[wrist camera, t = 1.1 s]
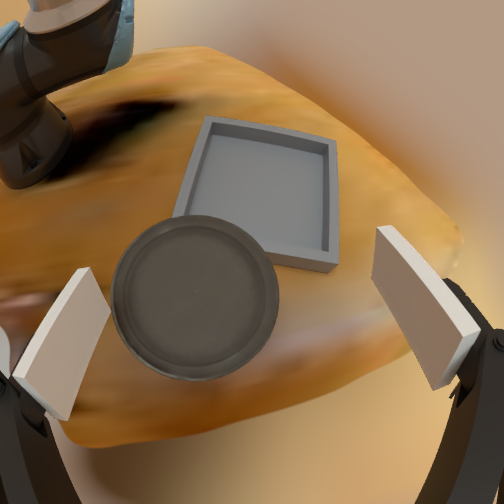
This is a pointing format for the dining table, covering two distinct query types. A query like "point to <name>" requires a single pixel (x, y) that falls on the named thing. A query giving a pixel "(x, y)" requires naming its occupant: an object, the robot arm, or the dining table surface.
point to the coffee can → (194, 297)
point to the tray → (268, 189)
